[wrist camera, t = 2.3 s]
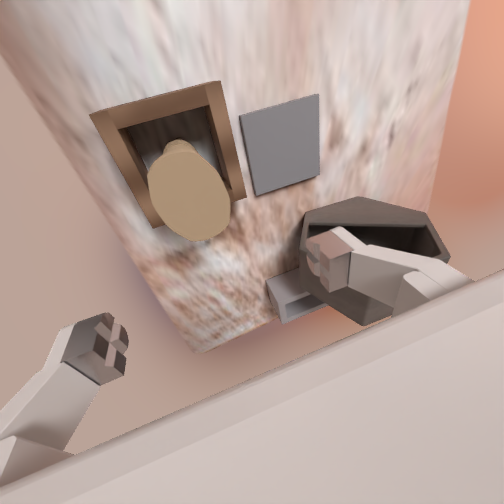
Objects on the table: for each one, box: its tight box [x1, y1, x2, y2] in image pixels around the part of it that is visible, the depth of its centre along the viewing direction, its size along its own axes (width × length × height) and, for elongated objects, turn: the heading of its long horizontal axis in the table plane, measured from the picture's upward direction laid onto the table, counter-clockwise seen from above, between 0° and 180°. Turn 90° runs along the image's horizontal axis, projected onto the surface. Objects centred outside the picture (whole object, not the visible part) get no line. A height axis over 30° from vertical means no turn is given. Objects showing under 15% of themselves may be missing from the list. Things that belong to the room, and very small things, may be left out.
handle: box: [147, 138, 230, 241], centre depth 21 cm, size 5×6×15 cm
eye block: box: [89, 81, 247, 228], centre depth 25 cm, size 12×12×5 cm
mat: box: [239, 94, 320, 196], centre depth 30 cm, size 10×10×1 cm
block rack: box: [266, 268, 328, 324], centre depth 46 cm, size 7×29×6 cm, turn 102°
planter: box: [299, 197, 451, 326], centre depth 34 cm, size 17×8×21 cm
